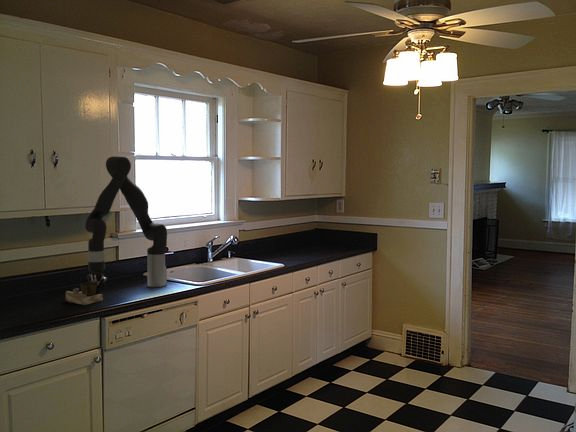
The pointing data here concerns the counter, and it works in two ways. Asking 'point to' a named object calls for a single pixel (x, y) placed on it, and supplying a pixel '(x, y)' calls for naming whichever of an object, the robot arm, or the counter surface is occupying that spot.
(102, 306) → the counter surface
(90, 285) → the cup
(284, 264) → the counter surface
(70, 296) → the hub cradle
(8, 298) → the counter surface
